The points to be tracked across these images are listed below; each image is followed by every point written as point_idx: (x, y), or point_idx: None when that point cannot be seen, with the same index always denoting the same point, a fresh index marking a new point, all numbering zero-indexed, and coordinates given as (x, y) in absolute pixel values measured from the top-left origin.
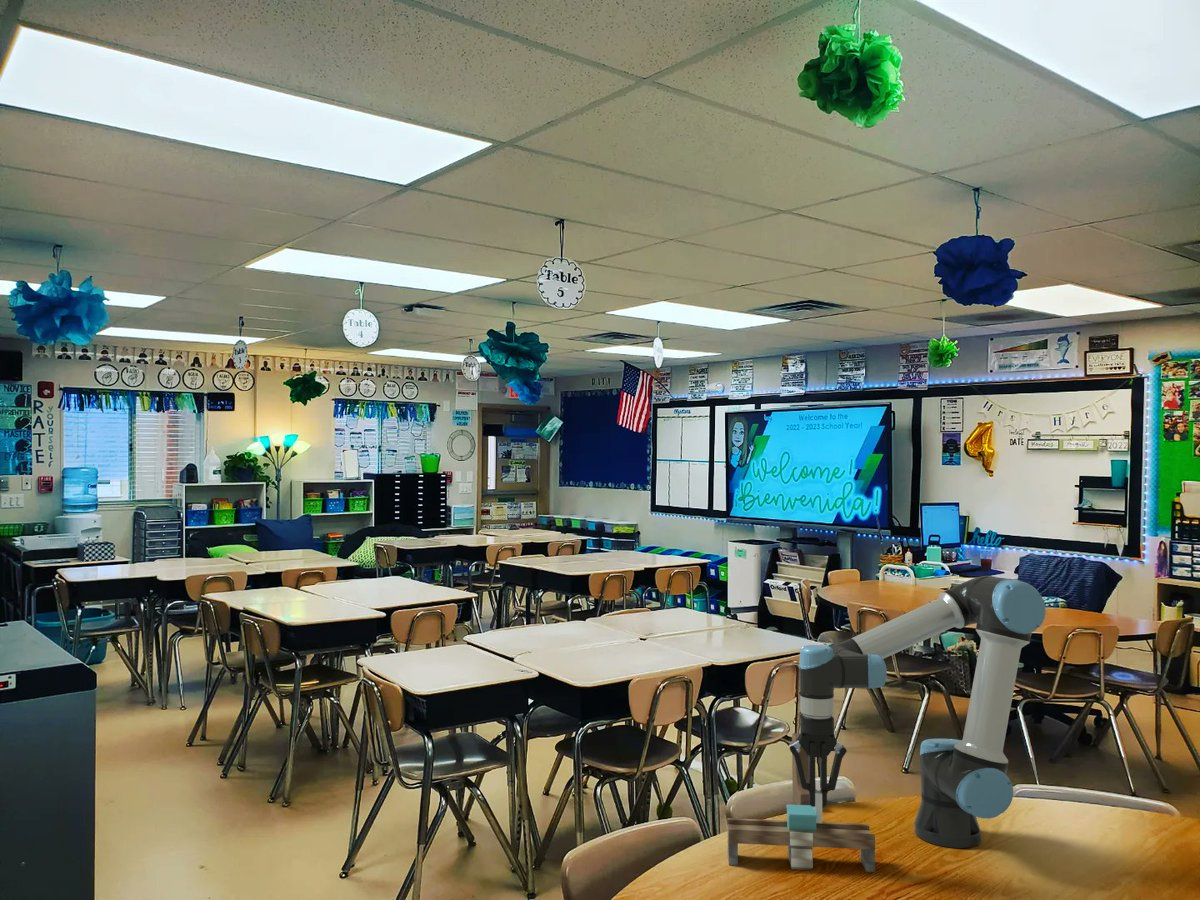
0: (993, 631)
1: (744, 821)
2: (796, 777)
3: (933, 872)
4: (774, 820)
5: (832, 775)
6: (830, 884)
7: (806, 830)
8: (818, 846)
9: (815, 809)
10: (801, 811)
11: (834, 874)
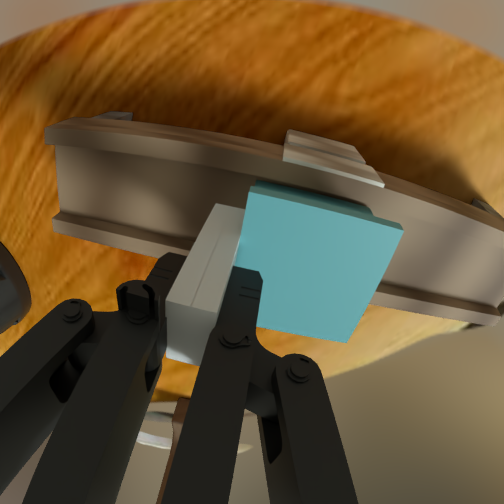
0: None
1: (467, 307)
2: None
3: (9, 123)
4: (381, 302)
5: (24, 390)
6: (266, 30)
7: (299, 195)
8: (261, 141)
9: (236, 250)
10: (317, 259)
11: (228, 95)
